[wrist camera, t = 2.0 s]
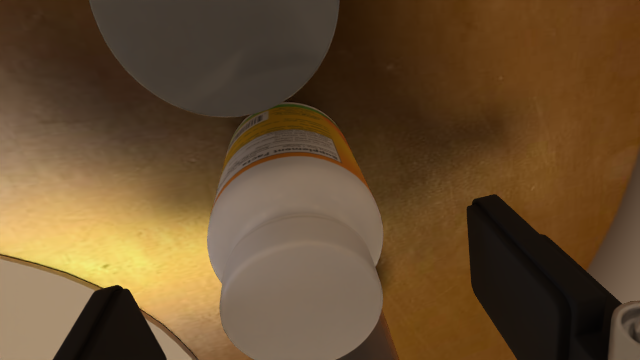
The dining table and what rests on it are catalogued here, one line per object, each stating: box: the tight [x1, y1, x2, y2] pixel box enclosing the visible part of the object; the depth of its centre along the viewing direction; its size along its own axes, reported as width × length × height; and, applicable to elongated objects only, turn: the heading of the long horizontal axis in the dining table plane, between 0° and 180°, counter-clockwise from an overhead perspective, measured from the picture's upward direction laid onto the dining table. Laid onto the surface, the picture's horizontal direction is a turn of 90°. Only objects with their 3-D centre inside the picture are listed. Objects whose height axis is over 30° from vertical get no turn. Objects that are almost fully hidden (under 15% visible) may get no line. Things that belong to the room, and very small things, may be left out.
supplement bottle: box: [207, 102, 383, 360], centre depth 14 cm, size 5×5×10 cm
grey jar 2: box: [336, 310, 399, 360], centre depth 18 cm, size 5×5×8 cm
